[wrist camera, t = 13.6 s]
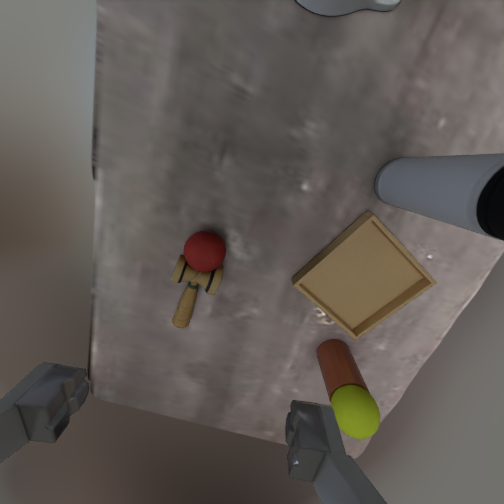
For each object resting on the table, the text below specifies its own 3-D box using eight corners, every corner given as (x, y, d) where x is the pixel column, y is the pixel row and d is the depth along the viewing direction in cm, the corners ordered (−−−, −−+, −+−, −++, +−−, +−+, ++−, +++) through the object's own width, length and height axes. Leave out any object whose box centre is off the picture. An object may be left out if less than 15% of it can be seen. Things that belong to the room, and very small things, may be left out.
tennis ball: (350, 367, 35) (368, 410, 29) (376, 389, 36) (399, 435, 30) (317, 389, 36) (327, 433, 31) (344, 409, 38) (359, 455, 32)
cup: (334, 333, 42) (352, 376, 34) (355, 351, 43) (377, 397, 35) (310, 351, 44) (321, 396, 35) (331, 368, 45) (346, 416, 37)
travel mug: (403, 145, 31) (620, 116, 12) (429, 181, 32) (660, 207, 14) (363, 180, 33) (499, 202, 14) (390, 213, 34) (546, 274, 15)
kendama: (209, 319, 44) (242, 239, 35) (193, 344, 38) (227, 256, 30) (173, 300, 44) (197, 217, 36) (152, 322, 39) (174, 230, 30)
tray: (366, 211, 34) (373, 214, 32) (426, 275, 37) (437, 282, 35) (291, 278, 38) (293, 285, 36) (350, 330, 42) (355, 340, 39)
